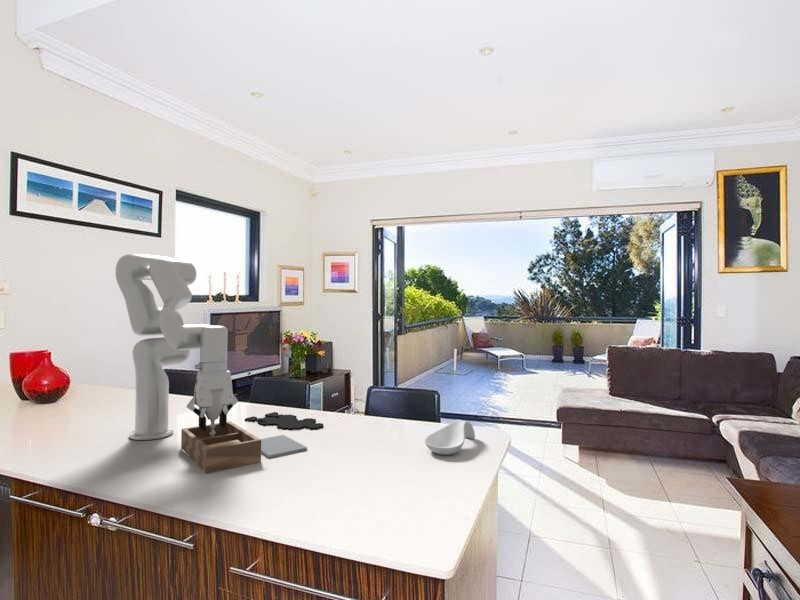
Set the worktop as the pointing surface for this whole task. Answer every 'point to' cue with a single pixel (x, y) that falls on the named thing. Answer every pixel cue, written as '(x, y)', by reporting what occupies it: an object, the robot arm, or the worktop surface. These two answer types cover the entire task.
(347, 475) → the worktop surface
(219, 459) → the walnut crate
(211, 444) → the oak offcut top
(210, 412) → the chalice
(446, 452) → the spoon rest
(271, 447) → the slate mat
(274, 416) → the black silhouette cutout
